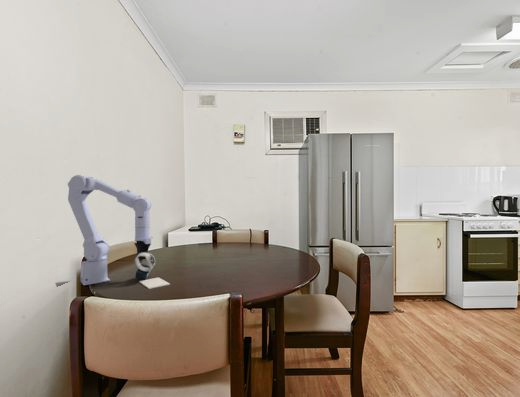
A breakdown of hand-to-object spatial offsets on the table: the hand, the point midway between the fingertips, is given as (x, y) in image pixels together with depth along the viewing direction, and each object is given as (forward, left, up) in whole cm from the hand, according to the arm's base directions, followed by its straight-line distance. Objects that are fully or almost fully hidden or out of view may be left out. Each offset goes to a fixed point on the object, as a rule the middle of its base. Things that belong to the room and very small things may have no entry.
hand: (142, 259), depth 117 cm
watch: (0, 0, -7) cm, 7 cm away
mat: (+1, -9, -8) cm, 12 cm away
